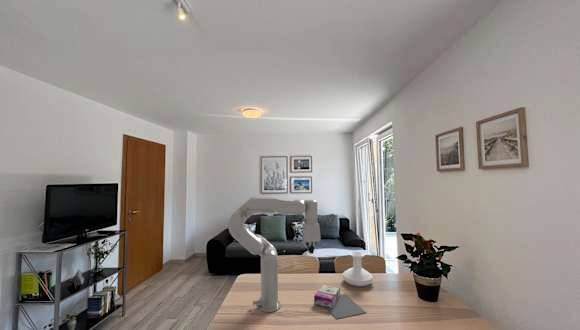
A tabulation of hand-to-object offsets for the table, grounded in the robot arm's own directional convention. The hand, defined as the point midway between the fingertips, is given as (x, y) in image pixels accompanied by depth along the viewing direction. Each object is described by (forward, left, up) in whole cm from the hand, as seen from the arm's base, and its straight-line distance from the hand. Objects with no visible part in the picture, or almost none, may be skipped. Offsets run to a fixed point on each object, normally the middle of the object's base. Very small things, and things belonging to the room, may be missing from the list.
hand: (311, 253), depth 142 cm
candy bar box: (+5, -5, -26) cm, 27 cm away
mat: (+15, -7, -29) cm, 34 cm away
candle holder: (+41, +16, -29) cm, 53 cm away
